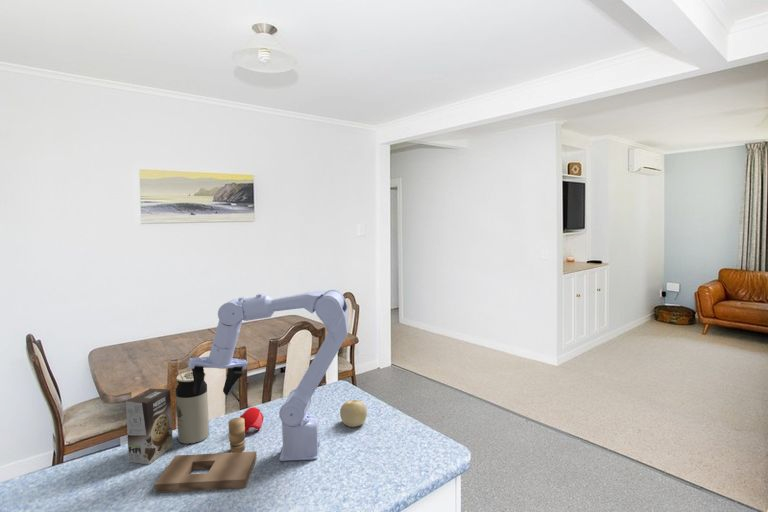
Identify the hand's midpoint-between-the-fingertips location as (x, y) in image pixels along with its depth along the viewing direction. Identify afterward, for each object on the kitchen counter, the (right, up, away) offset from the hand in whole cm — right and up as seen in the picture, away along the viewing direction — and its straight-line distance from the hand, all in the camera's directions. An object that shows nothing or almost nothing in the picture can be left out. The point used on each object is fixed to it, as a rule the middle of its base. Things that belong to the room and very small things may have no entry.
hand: (210, 393), depth 114 cm
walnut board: (+3, -17, -9) cm, 19 cm away
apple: (+36, -14, +17) cm, 42 cm away
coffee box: (-16, -16, +1) cm, 23 cm away
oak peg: (+6, -16, +2) cm, 17 cm away
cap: (+6, -15, +13) cm, 21 cm away
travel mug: (-8, -15, +9) cm, 20 cm away
